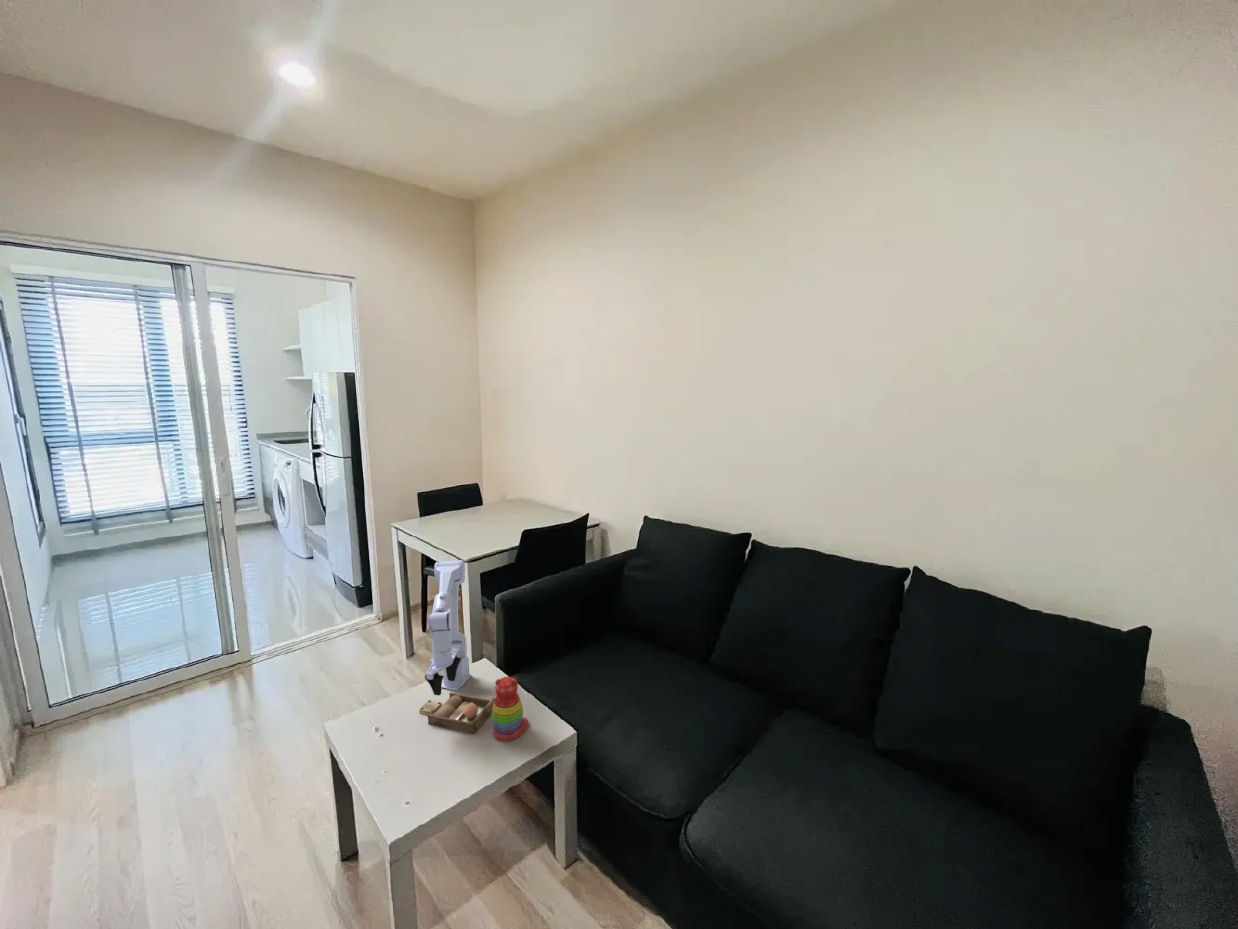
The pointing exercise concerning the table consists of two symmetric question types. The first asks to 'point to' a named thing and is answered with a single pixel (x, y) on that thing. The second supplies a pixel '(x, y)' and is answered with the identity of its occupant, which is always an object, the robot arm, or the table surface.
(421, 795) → the table surface
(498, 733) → the stacking bear
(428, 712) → the wooden footed board
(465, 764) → the table surface
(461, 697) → the wooden tray
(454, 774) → the table surface
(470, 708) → the ball
